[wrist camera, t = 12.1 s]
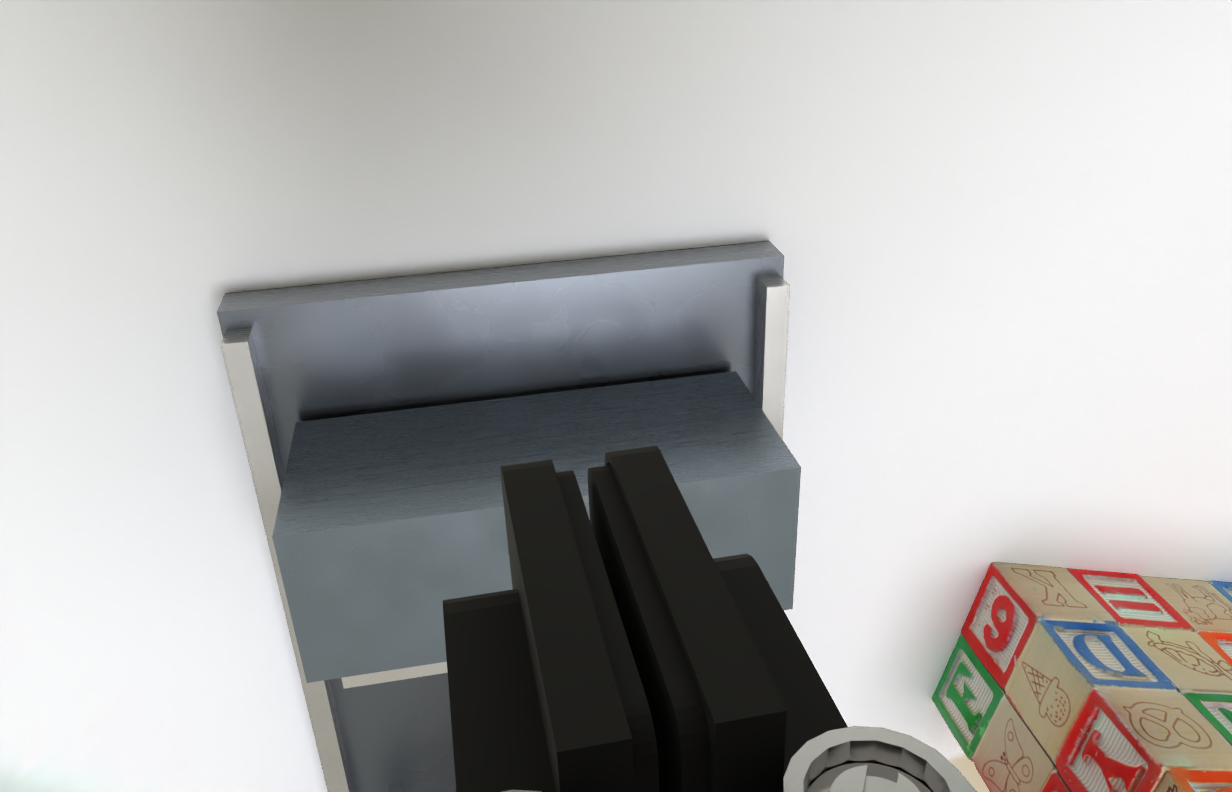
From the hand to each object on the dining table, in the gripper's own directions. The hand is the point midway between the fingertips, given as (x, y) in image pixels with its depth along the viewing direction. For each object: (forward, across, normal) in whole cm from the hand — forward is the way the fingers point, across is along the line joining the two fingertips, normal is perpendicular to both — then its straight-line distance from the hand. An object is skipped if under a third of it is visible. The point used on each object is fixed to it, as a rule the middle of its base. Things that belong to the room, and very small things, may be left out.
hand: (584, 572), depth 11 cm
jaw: (+14, -1, +7) cm, 16 cm away
